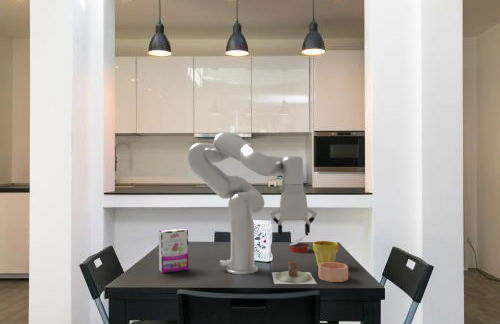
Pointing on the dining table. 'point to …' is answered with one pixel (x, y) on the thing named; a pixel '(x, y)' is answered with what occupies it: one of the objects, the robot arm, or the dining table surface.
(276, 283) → the square white plate
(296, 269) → the lid
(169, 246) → the candy bar box
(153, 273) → the dining table surface
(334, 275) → the bowl
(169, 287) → the dining table surface
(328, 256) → the plant pot
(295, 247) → the canned food
